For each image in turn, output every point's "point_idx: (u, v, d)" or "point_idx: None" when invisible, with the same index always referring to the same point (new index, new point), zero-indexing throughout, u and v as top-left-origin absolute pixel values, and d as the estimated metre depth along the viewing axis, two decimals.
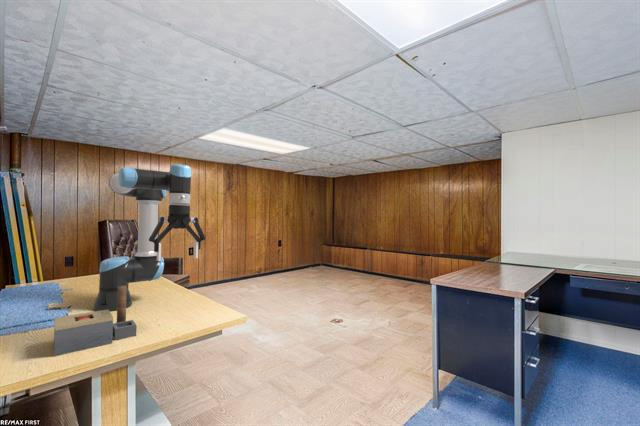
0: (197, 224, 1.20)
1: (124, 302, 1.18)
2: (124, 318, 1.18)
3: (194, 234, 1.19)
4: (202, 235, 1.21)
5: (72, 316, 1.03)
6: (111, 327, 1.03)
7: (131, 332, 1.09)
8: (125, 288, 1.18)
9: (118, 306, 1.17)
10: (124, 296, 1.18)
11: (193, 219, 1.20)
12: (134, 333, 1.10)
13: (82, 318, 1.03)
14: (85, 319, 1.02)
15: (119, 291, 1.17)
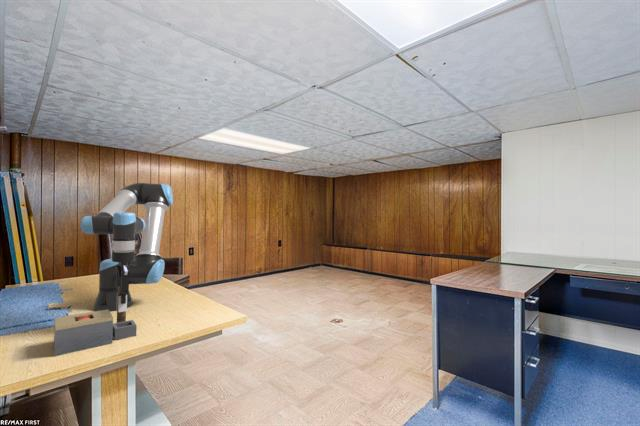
0: (121, 277, 1.14)
1: None
2: (124, 319, 1.18)
3: (119, 285, 1.16)
4: (120, 289, 1.14)
5: (72, 316, 1.03)
6: (111, 327, 1.03)
7: (131, 332, 1.09)
8: None
9: None
10: None
11: None
12: (134, 333, 1.10)
13: (82, 318, 1.03)
14: (85, 319, 1.02)
15: (119, 291, 1.17)
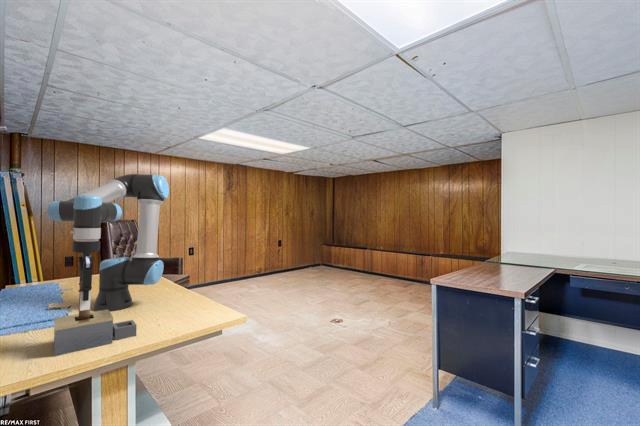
0: (82, 269, 0.98)
1: None
2: (88, 318, 1.02)
3: (81, 280, 1.00)
4: (82, 284, 0.99)
5: (72, 316, 1.03)
6: (111, 327, 1.03)
7: (131, 332, 1.09)
8: None
9: None
10: None
11: (85, 262, 0.99)
12: (134, 333, 1.10)
13: None
14: None
15: None
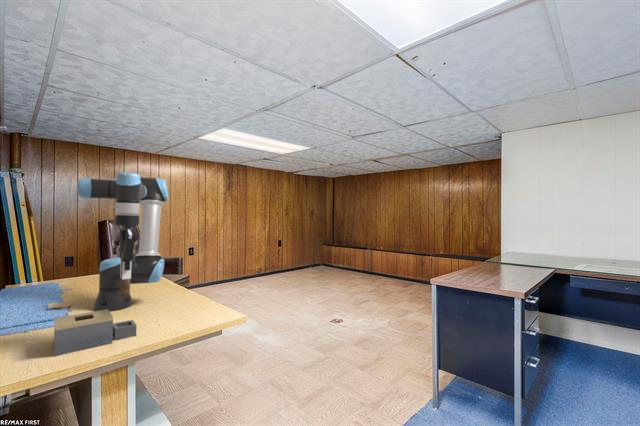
0: (125, 240, 1.06)
1: None
2: (128, 287, 1.10)
3: (123, 250, 1.08)
4: (124, 254, 1.07)
5: (72, 316, 1.03)
6: (111, 327, 1.03)
7: (131, 332, 1.09)
8: None
9: None
10: None
11: None
12: (134, 333, 1.10)
13: None
14: None
15: None
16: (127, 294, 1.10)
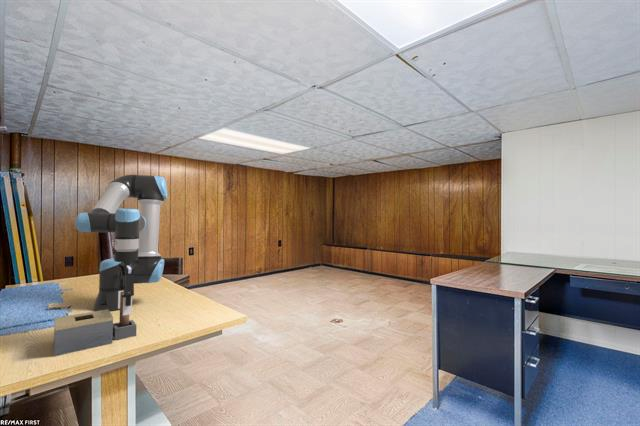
0: (125, 276, 1.05)
1: None
2: None
3: (123, 286, 1.07)
4: (125, 290, 1.05)
5: (72, 316, 1.03)
6: (111, 327, 1.03)
7: (131, 332, 1.09)
8: None
9: (121, 313, 1.09)
10: None
11: None
12: (134, 333, 1.10)
13: None
14: None
15: None
16: None
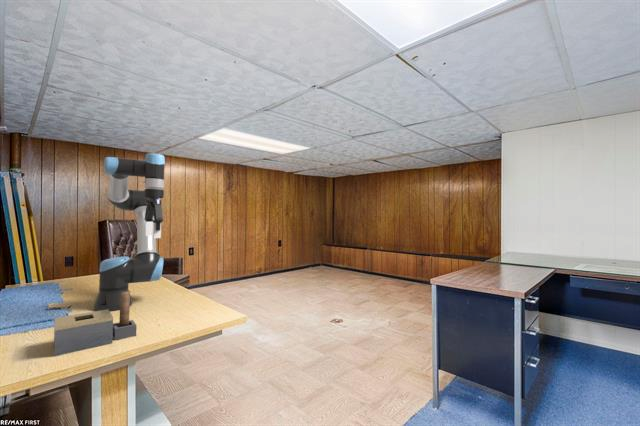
0: (154, 206, 1.26)
1: (127, 309, 1.10)
2: None
3: (153, 215, 1.27)
4: (155, 216, 1.25)
5: (72, 316, 1.03)
6: (111, 327, 1.03)
7: (131, 332, 1.09)
8: (128, 294, 1.10)
9: (121, 313, 1.09)
10: (127, 302, 1.10)
11: None
12: (134, 333, 1.10)
13: None
14: None
15: (122, 297, 1.09)
16: None
